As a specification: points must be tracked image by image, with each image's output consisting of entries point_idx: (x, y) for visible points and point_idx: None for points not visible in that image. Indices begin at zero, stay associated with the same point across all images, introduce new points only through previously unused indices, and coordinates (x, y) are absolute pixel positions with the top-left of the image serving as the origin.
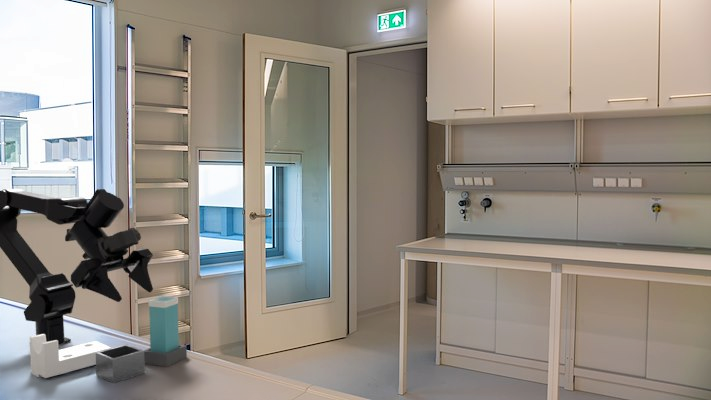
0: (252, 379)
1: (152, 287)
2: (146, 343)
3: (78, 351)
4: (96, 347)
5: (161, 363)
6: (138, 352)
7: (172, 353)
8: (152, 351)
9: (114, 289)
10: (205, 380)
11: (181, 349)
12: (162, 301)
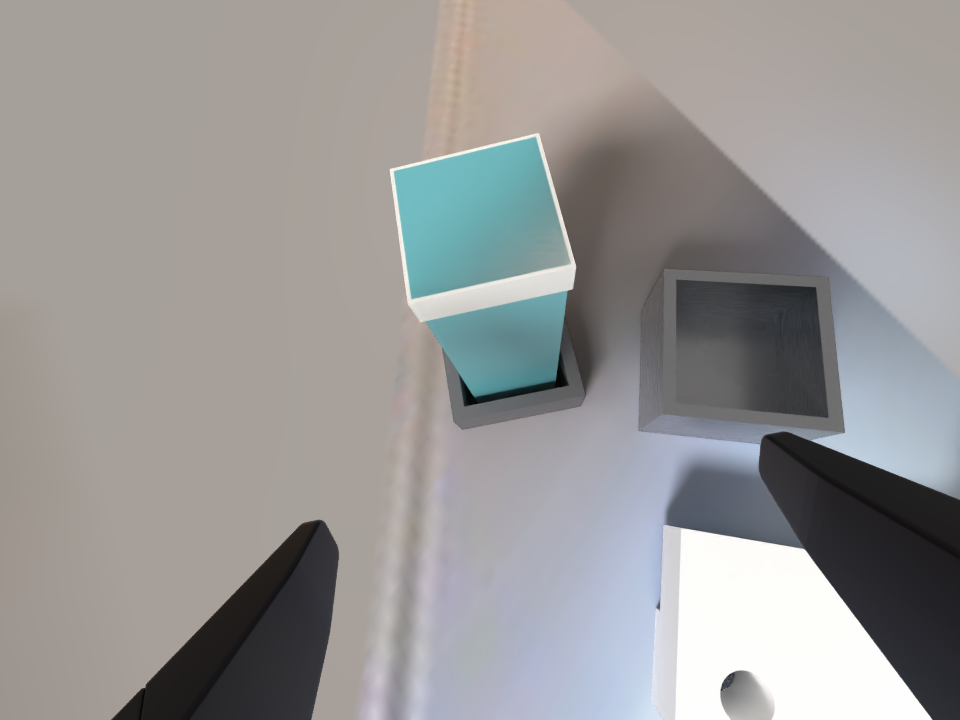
0: (486, 46)
1: (294, 532)
2: (399, 629)
3: (840, 644)
4: (734, 611)
5: None
6: (692, 271)
7: None
8: (562, 355)
9: (913, 494)
10: (563, 122)
11: None
12: (533, 158)
